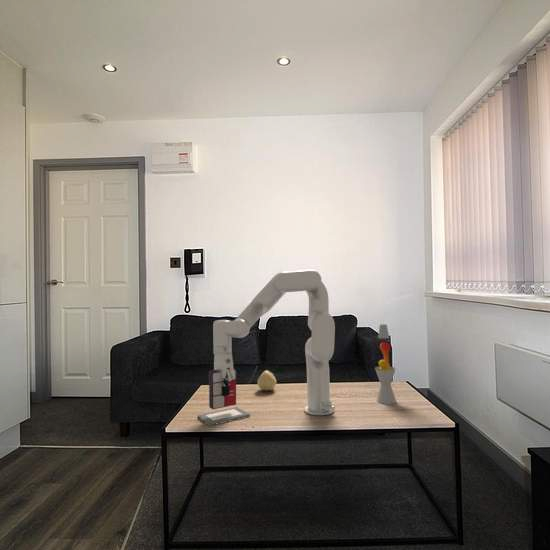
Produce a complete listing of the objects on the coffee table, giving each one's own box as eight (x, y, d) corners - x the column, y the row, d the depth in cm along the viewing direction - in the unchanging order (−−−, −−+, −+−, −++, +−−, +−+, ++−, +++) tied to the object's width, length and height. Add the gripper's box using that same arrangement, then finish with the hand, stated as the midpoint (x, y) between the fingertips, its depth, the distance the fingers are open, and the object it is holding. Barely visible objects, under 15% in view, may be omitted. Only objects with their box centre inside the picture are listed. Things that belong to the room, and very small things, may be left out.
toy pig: (278, 387, 197) (277, 367, 198) (275, 393, 185) (274, 372, 186) (260, 387, 199) (259, 367, 199) (256, 393, 187) (255, 372, 187)
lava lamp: (385, 397, 174) (382, 323, 176) (401, 401, 167) (397, 324, 168) (371, 400, 169) (368, 324, 171) (387, 405, 162) (384, 325, 163)
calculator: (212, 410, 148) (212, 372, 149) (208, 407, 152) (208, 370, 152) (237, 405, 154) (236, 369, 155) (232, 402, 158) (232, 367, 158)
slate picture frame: (250, 416, 152) (249, 413, 152) (209, 426, 142) (209, 423, 142) (236, 409, 162) (236, 406, 162) (197, 417, 152) (197, 415, 153)
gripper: (239, 351, 149) (240, 397, 148) (222, 346, 163) (223, 388, 162) (222, 353, 145) (223, 400, 144) (206, 348, 159) (207, 391, 158)
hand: (223, 393), depth 153 cm, fingers closed on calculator, 3 cm apart
